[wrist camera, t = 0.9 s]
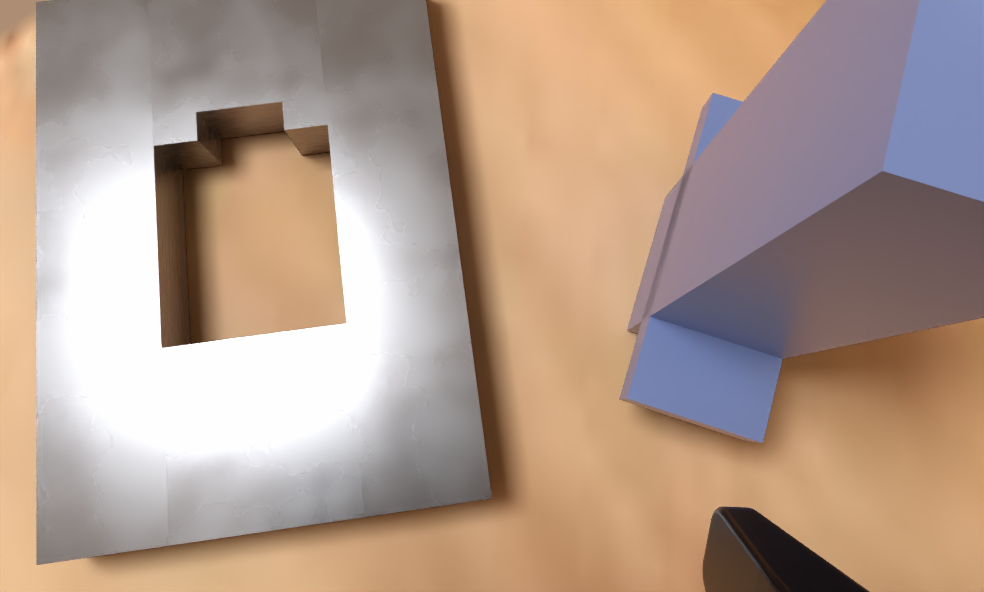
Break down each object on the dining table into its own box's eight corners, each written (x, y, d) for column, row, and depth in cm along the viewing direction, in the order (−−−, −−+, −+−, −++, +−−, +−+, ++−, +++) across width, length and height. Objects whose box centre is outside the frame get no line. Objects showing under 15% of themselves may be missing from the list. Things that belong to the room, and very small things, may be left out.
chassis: (491, 491, 20) (491, 498, 18) (80, 550, 20) (36, 565, 18) (425, -3, 24) (420, -41, 22) (74, 37, 23) (36, 1, 21)
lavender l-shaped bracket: (723, 439, 21) (1276, 484, 6) (606, 401, 21) (883, 358, 7) (791, 167, 23) (1337, -281, 8) (683, 134, 23) (1030, -360, 8)
